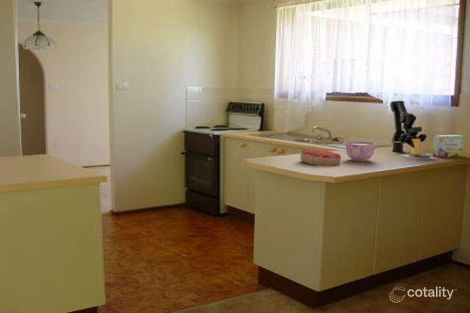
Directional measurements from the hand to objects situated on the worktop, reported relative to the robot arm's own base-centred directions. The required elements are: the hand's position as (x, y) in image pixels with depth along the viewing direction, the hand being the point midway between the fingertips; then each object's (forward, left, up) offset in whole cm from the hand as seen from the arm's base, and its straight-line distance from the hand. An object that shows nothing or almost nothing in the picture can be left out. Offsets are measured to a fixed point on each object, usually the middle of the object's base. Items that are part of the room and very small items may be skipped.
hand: (416, 147), depth 353 cm
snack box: (+8, +27, -7) cm, 29 cm away
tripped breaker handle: (-1, +1, -4) cm, 5 cm away
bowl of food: (-16, -42, -7) cm, 46 cm away
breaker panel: (-1, +5, -7) cm, 9 cm away
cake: (-24, -72, -8) cm, 76 cm away
